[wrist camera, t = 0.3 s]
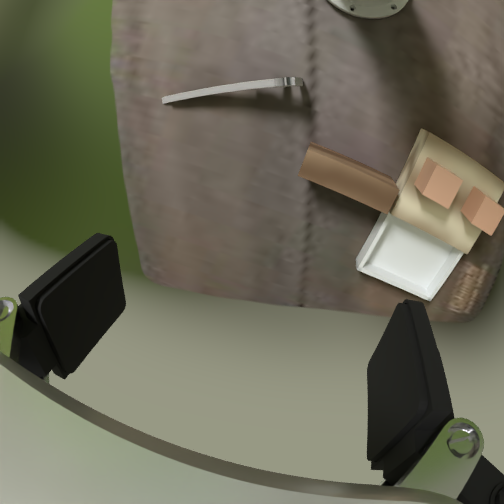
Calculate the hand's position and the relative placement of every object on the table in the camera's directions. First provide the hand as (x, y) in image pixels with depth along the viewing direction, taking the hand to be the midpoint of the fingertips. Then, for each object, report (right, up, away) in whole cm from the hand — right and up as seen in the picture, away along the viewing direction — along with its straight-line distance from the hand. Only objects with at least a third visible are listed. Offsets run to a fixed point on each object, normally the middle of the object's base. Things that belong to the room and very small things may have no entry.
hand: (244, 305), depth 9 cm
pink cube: (+23, +11, +23) cm, 34 cm away
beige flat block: (+27, +11, +27) cm, 40 cm away
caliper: (-3, +24, +28) cm, 37 cm away
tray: (+24, +2, +33) cm, 41 cm away
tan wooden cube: (+30, +8, +23) cm, 39 cm away
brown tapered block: (+13, +13, +30) cm, 35 cm away
